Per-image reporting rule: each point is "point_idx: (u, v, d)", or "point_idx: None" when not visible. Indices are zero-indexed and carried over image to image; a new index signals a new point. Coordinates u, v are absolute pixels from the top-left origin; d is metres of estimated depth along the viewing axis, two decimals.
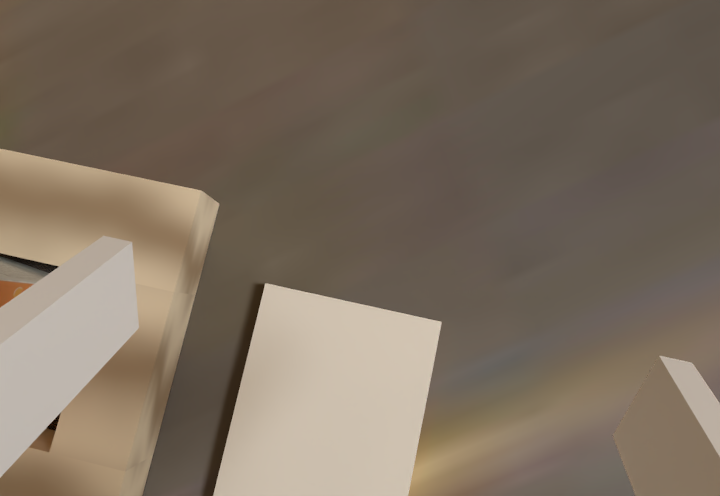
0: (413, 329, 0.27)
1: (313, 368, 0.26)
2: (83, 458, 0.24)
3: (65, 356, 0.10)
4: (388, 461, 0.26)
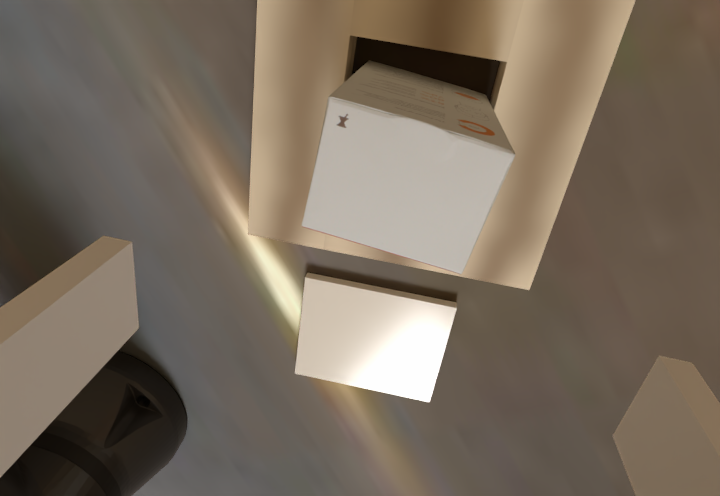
0: (424, 388, 0.41)
1: (397, 335, 0.39)
2: None
3: (65, 356, 0.10)
4: (344, 372, 0.42)
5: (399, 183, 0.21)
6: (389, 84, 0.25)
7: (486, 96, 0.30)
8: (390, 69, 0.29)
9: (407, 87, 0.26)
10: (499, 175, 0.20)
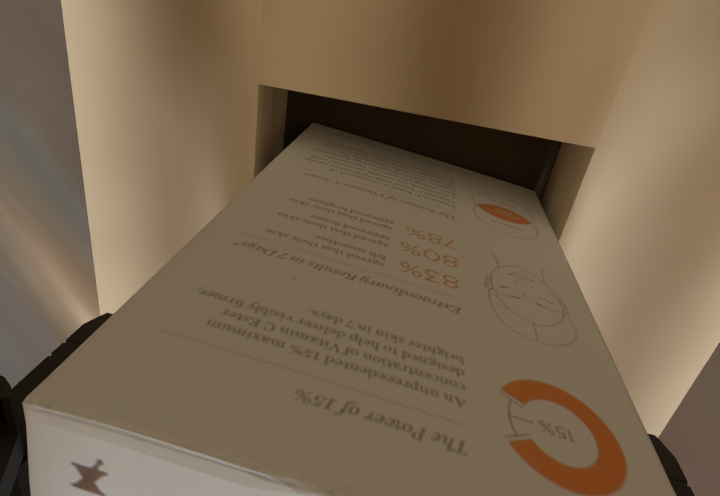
0: None
1: None
2: None
3: None
4: None
5: None
6: (326, 218, 0.10)
7: (537, 198, 0.16)
8: (349, 148, 0.15)
9: (372, 219, 0.11)
10: None
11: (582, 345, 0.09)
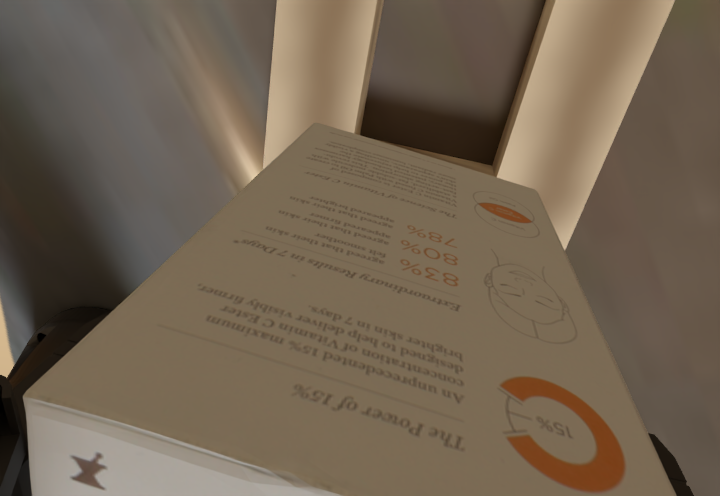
0: None
1: None
2: None
3: None
4: None
5: None
6: (326, 217, 0.10)
7: (539, 197, 0.16)
8: (350, 147, 0.15)
9: (372, 218, 0.11)
10: None
11: (582, 343, 0.09)
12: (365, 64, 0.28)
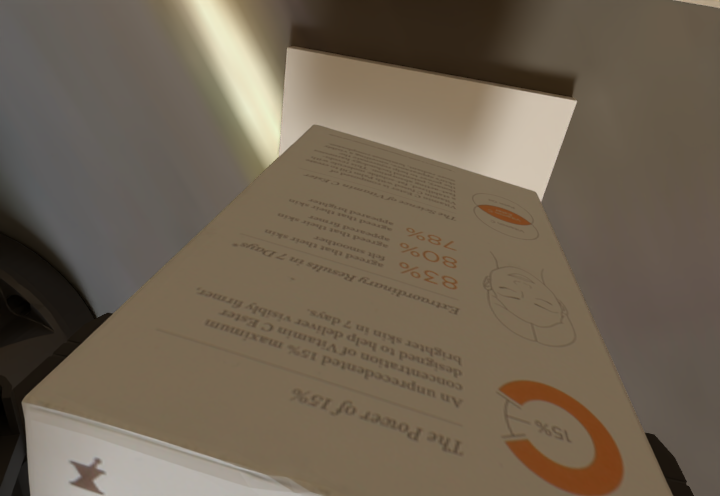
0: None
1: None
2: None
3: None
4: None
5: None
6: (326, 219, 0.10)
7: (538, 198, 0.16)
8: (350, 149, 0.15)
9: (371, 221, 0.11)
10: None
11: (581, 346, 0.09)
12: None
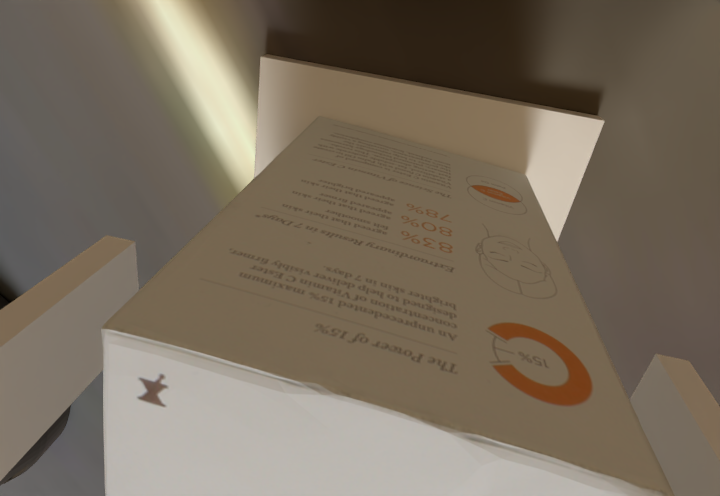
0: None
1: None
2: None
3: (69, 355, 0.10)
4: None
5: None
6: (334, 196, 0.12)
7: (528, 180, 0.17)
8: (353, 137, 0.16)
9: (375, 197, 0.12)
10: None
11: (561, 298, 0.10)
12: None
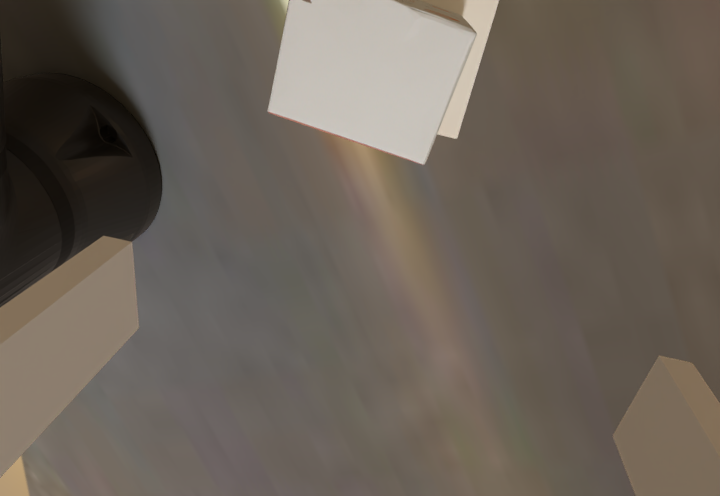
0: (452, 116, 0.34)
1: None
2: None
3: (65, 356, 0.10)
4: None
5: (362, 63, 0.21)
6: None
7: (462, 16, 0.31)
8: None
9: None
10: (460, 56, 0.20)
11: (458, 19, 0.24)
12: None
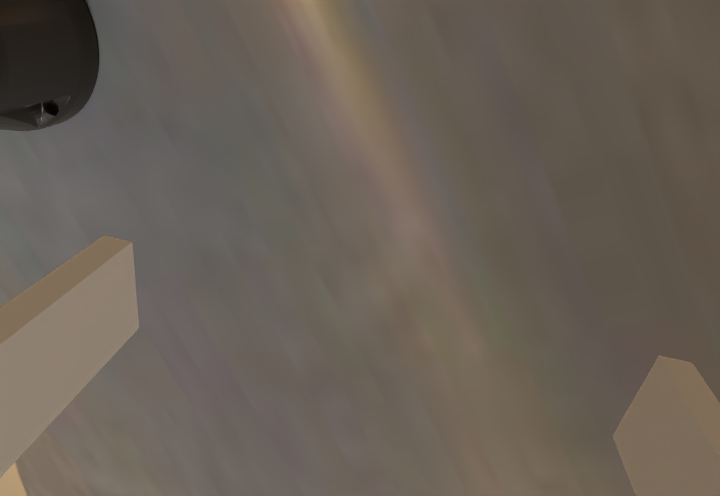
0: None
1: None
2: None
3: (65, 356, 0.10)
4: None
5: None
6: None
7: None
8: None
9: None
10: None
11: None
12: None
